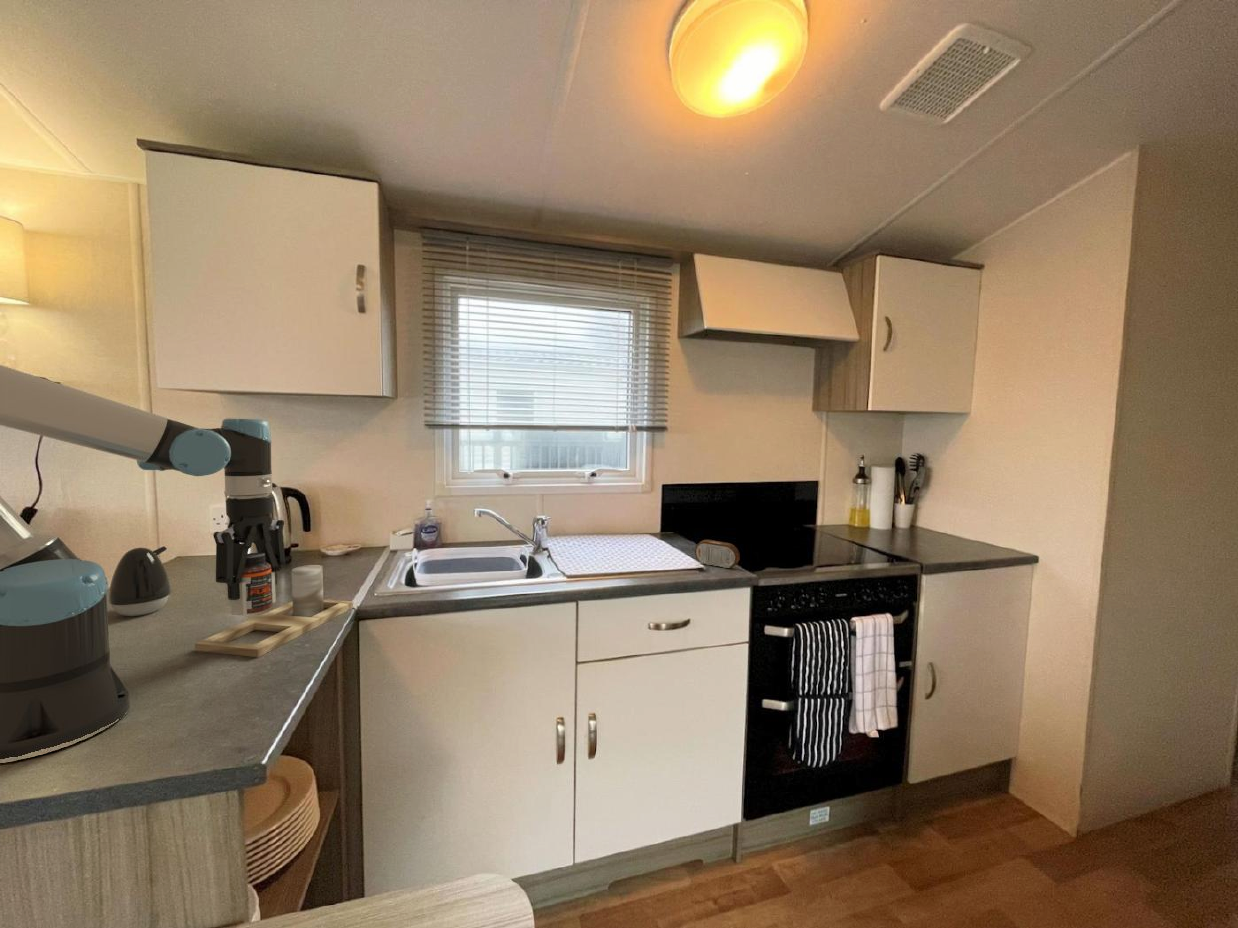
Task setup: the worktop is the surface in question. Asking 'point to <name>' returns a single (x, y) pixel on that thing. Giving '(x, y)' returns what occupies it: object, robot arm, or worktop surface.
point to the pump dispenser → (139, 583)
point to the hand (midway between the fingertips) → (254, 607)
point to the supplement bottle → (257, 583)
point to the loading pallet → (282, 617)
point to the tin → (717, 553)
